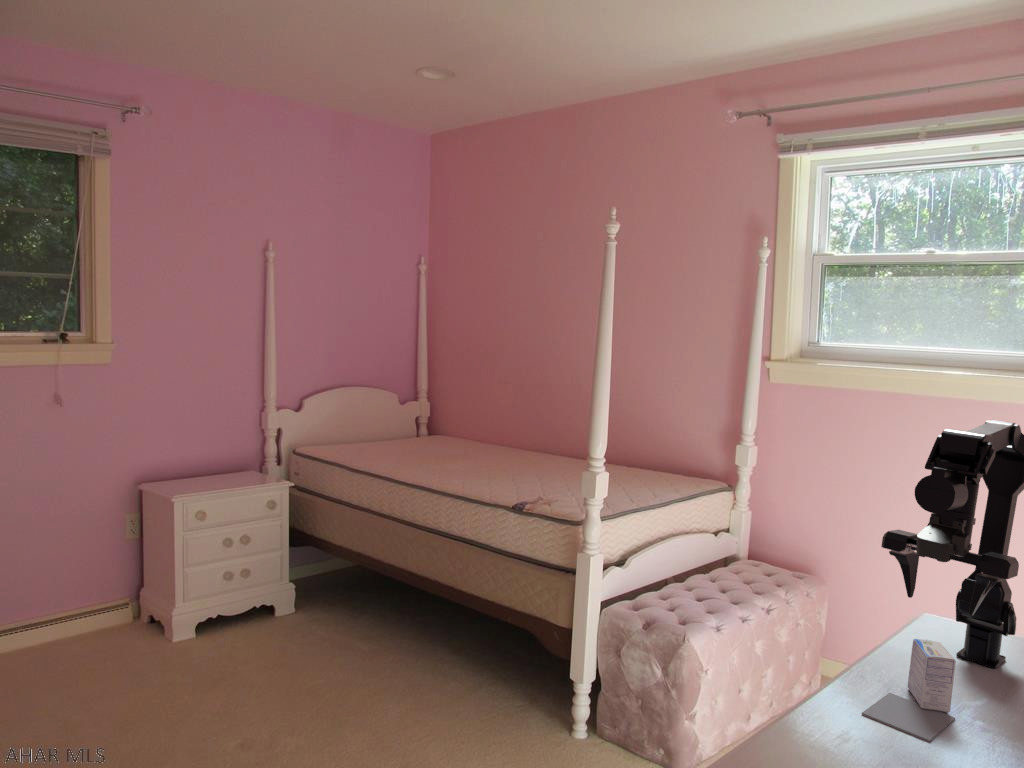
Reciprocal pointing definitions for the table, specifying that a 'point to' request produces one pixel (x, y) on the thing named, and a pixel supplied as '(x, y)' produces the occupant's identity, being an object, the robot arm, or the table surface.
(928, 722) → the mat
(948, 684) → the medicine box
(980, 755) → the table surface
